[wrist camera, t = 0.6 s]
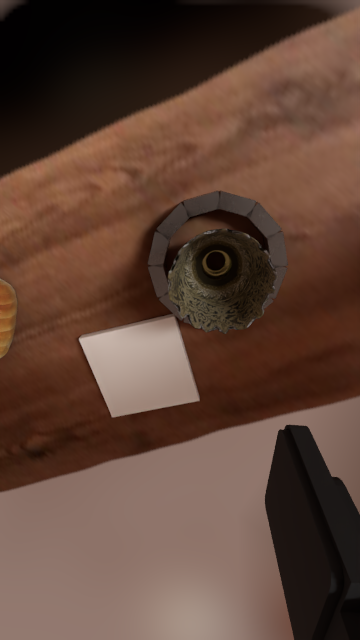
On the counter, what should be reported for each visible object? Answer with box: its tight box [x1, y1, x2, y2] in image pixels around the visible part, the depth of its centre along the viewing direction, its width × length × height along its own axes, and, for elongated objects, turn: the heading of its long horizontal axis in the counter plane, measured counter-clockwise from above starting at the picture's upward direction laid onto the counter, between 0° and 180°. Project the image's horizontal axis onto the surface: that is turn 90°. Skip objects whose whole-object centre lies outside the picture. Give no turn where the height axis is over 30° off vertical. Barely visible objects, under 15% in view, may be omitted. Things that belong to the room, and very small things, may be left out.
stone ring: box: [148, 191, 288, 330], centre depth 28 cm, size 12×12×2 cm
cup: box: [168, 229, 277, 334], centre depth 26 cm, size 8×7×8 cm
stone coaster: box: [79, 314, 200, 417], centre depth 34 cm, size 10×10×1 cm
